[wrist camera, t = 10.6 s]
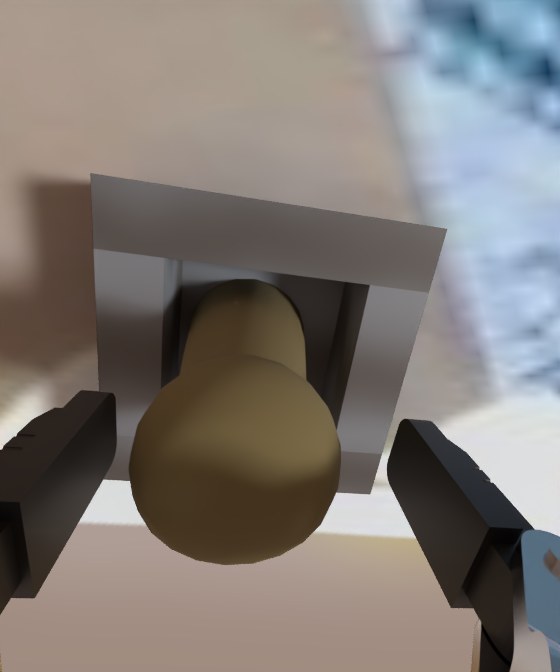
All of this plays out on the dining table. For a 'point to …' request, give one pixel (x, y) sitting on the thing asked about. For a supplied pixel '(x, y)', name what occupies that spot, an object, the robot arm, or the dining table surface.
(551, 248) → the dining table surface
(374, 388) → the square holder
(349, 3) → the dining table surface
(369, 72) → the dining table surface
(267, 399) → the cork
